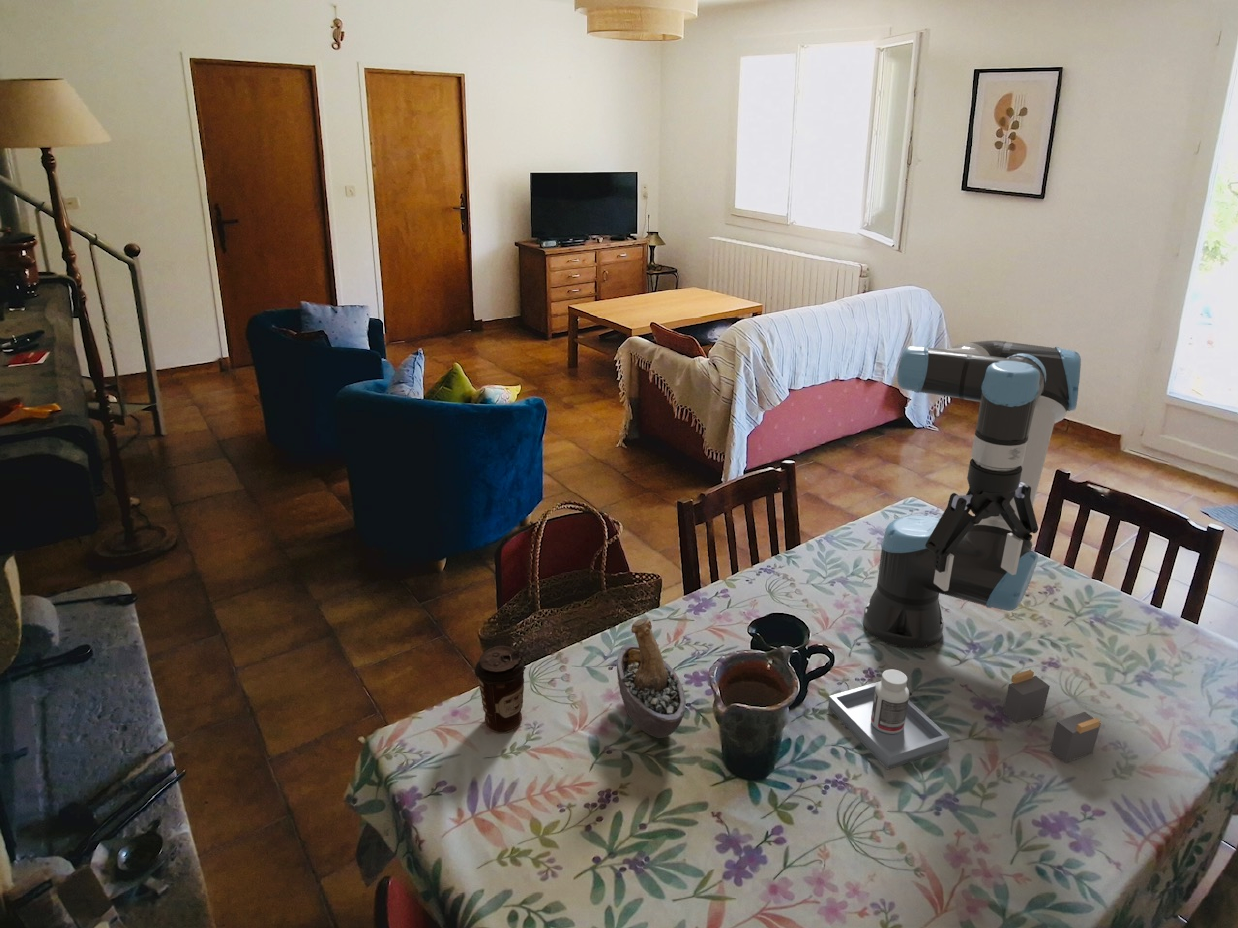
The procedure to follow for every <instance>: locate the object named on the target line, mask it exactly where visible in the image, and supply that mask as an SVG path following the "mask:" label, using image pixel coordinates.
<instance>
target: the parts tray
mask: <svg viewBox="0 0 1238 928" xmlns="http://www.w3.org/2000/svg"><path fill="white" fill-rule="evenodd" d="M880 681H881V680H879V681H877V682H872V683H869V684H866V685H862V686H859V687H856V688H852V689H849V690H848V689H847V690H845V691H842V692H837V693H834V694H832V695H829V697H828V705H827V708H828V709H829V710H830V712H832V713H833V714H834V715H835V716H836V718H838V719H839V721H840V722H842V724H843V725H844V726H845V727H846V728H847V729H848V730H849V731H850V733H852V734H853V735H854V737H856V738H857V740H858V741H860V742H861V744H863V746H864V747H865V748H866V749H867V750H868V752H870V753H871V754H872V755H873V756H874V757H875V759H877V761H879V763H880V764H882V766H883V767H884V768H885V769H886V770H887V771H888V770H890V769H893V768H894V769H895V768H896V767H899V766H900V767H901V766H902V765H905V764H908V763H911V762H914V761H918V760H920V759H922V758H927V757H929V756H932V755H935V754H938V753H941V752H944V751H947V750H949V745H950V739H951V737H950V736H949V734H947V732H946V731H944V730H943V729H942V728H941V727H940V726H938V725H937V723H936V722H934V721H933V720H932V719H930V717H929V716H928V715H926V714H925V713H924V712H923V711H922V710H921V709H920V708H918V707H917V705H915V704H914V702H912V701H911V700H910V699H909V700H908V706H907V712H906V717H905V724H904V728H903V730H902V731H901V732H899V733H896V734H888V733H884V732H881V731H879V730H878V729H876V728H875V727H874V726H873V725H872V722H871V715H872V708H873V701H874V694H875V688H876V685H877V683H878V682H880Z"/></svg>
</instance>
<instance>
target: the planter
mask: <svg viewBox="0 0 1238 928" xmlns="http://www.w3.org/2000/svg"><path fill="white" fill-rule="evenodd" d="M631 633H633V634H634V636H635V638H636V642H637V644H636V643H631V642H628V643H625V644H624V645H622V646H621V648H620V649H619V652H618V655H617V660H616V673H617V681H618V686H619V687H618V688H619V693H620V697H621V699H622V702H623V705H624V707H625V710H626V712H627V714H628V716H629V718H630V719H631V720H632V722H633V723H634V724H635V725H636V726H637V728H639V729H640V730H641V731H642V732H643V733H646V734H648V735H649V736H652V737H653V738H659V739H660V738H661V739H663V738H667V737H669V736H670V735H672V734H673V733H674V732H675V731H676V730H677V729H678V727H679V726H680V724H681V723H682V720H683V718H684V715H685V712H686V703H687V700H686V696H685V691H684V688H683V685H682V682H681V680H680V678H679V676H678V675H677V673H676V671H675V670H674V669H673V668H672V667H671V665H670V664H668V663H667V662H666V660H664V659H663V655H662V653H661V649H660V647H659V644H658V642H657V640H656V637H655V635H654V634H653V631H652V623H651V620H650V619H647V618H640V619H637V620H635V621H634V622H633V623H632V625H631Z"/></svg>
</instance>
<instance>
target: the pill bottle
mask: <svg viewBox="0 0 1238 928" xmlns="http://www.w3.org/2000/svg"><path fill="white" fill-rule="evenodd" d="M879 681H880V682H879ZM879 681H877V682H878V683H877V685H876V688H875V694H874V701H873V708H872V715H871V722H872V725H873V726H874V727H875V728H876V729H878V730H879V731H881V732H884V733H888V734H896V733H899V732H901V731H902V730H903V728H904V724H905V717H906V712H907V706H908V700H910V690H909V688H908V686H907V685H908V676H907V675H906V674H905V673H904V672H902V671H901V670H897V669H892V668H891V669H885V670H884V671H883V672H882V675H881V680H879Z"/></svg>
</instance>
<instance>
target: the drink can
mask: <svg viewBox="0 0 1238 928" xmlns="http://www.w3.org/2000/svg"><path fill="white" fill-rule="evenodd" d="M523 657H524V655H523V654H522V653H521V652H520V651H519V650H517V649H515V648H512V647H511V646H506V645H497V646H494V647H491V648H488V649H486V650H485V651H484V652H483V653H482V654H481V655H480V657H479V660H478V662H477V663H476V665H475V668H474V676H475V677H476V678H477V680H478V684H479V685H478V686H479V691H480V698H481V704H482V710H483V711H484V713H485V714H484V722H485V725H486V727H487V728H488V729H489V730H490V731H492V732H494V733H496V734H497V733H498V734H500V733H501V734H503V733H510V732H512V731H513V730H515V729H517V728H518V727H519V726H520V725H521V723H522V720H523V717H522V716H523V713H522V709H523V706H524V704H523V703H524V693H525V692H524V690H525V678H524V676H525V670H526V669H527V667H526V666H525V662H524V660H523Z"/></svg>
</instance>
